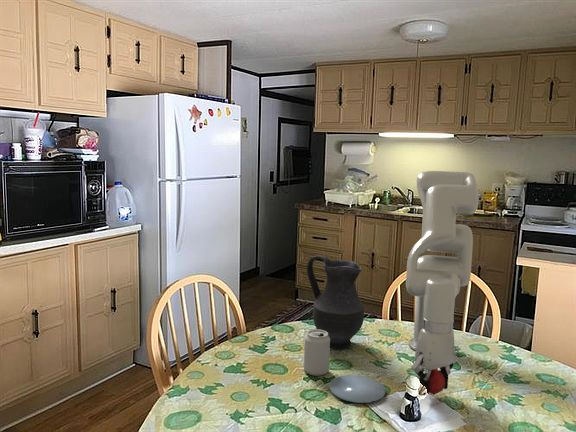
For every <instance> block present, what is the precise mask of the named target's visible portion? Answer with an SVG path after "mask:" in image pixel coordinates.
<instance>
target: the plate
mask: <svg viewBox="0 0 576 432" xmlns="http://www.w3.org/2000/svg"><path fill="white" fill-rule="evenodd" d="M385 388H386V387H385V386H384V385H383V383H381V382H380V381H379V380H377V379H375V378H372V377H370V376H366V375H362V374H361V375H360V374H344V375H343V374H342V375H340V376H336V377H334V378H333V379H332V380H331V381H330V382H329V390H330V392H331V393H332V394H333V396H335V397H337V398H339V399H341V400H342V401H347V402H351V403H356V404H368V403H369V404H370V403H372V402H371V401H375V400H377V401H380V400H381V399H382V398H384V397H385V394H386V389H385ZM379 399H380V400H379ZM375 402H376V401H375Z"/></svg>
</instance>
